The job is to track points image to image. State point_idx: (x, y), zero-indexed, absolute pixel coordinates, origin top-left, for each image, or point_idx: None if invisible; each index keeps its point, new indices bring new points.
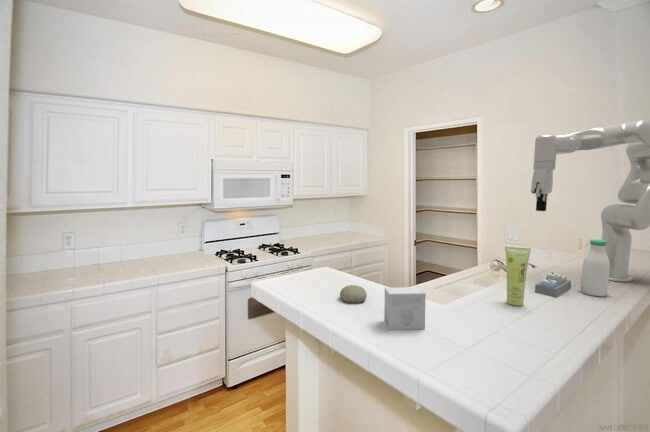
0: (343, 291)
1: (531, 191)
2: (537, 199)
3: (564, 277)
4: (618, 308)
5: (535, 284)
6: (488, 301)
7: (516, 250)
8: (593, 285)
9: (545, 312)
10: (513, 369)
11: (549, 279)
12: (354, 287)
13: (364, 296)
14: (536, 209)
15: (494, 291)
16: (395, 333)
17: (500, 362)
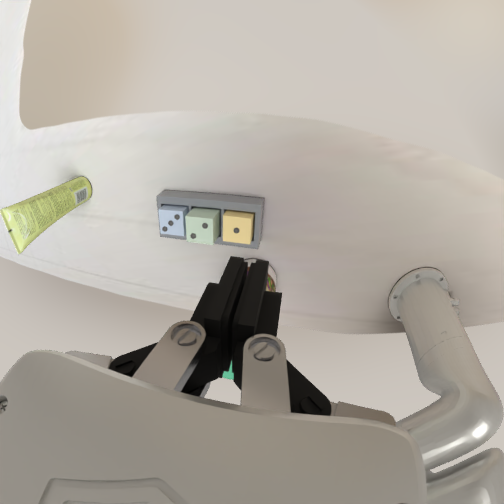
0: None
1: (21, 359)
2: (166, 341)
3: (236, 242)
4: (193, 305)
5: (157, 195)
6: (63, 156)
7: (11, 228)
8: None
9: (90, 231)
10: (6, 240)
11: (182, 220)
12: None
13: None
14: (229, 263)
15: (107, 133)
16: None
17: (4, 231)
